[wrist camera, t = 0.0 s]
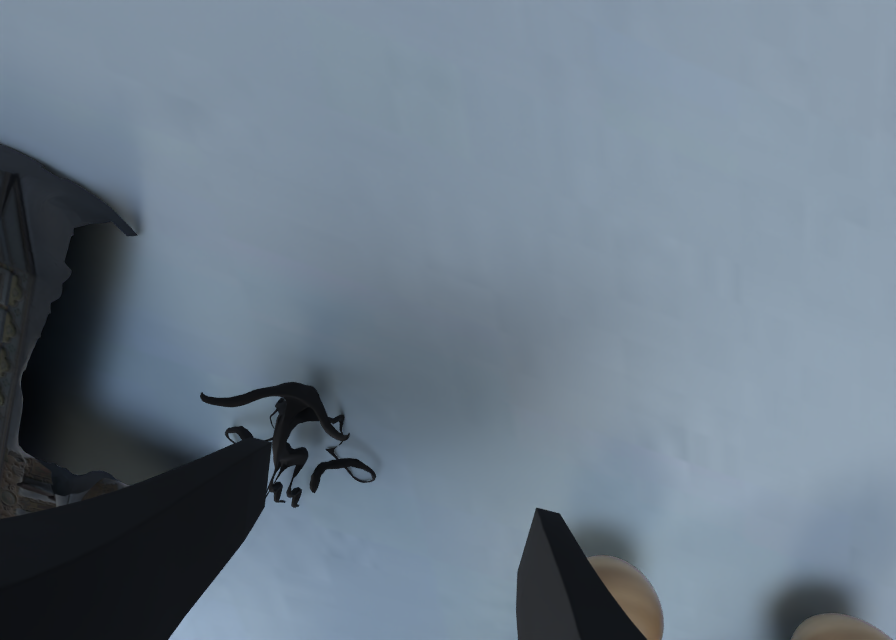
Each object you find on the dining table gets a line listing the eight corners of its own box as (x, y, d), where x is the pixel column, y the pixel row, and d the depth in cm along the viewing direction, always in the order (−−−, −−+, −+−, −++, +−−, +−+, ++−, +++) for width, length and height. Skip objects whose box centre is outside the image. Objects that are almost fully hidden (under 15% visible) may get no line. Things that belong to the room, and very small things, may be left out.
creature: (375, 498, 25) (398, 381, 22) (338, 593, 21) (360, 465, 17) (238, 459, 26) (237, 337, 22) (171, 543, 21) (156, 406, 17)
